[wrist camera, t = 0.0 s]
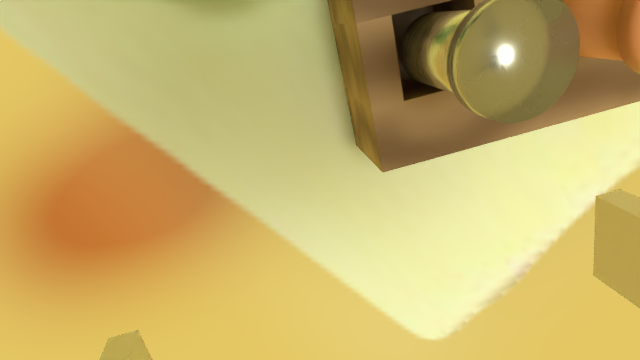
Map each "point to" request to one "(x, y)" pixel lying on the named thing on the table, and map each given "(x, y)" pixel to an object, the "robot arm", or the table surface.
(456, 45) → the plunger
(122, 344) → the robot arm
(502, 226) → the table surface
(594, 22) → the plunger
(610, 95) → the brown wooden block
